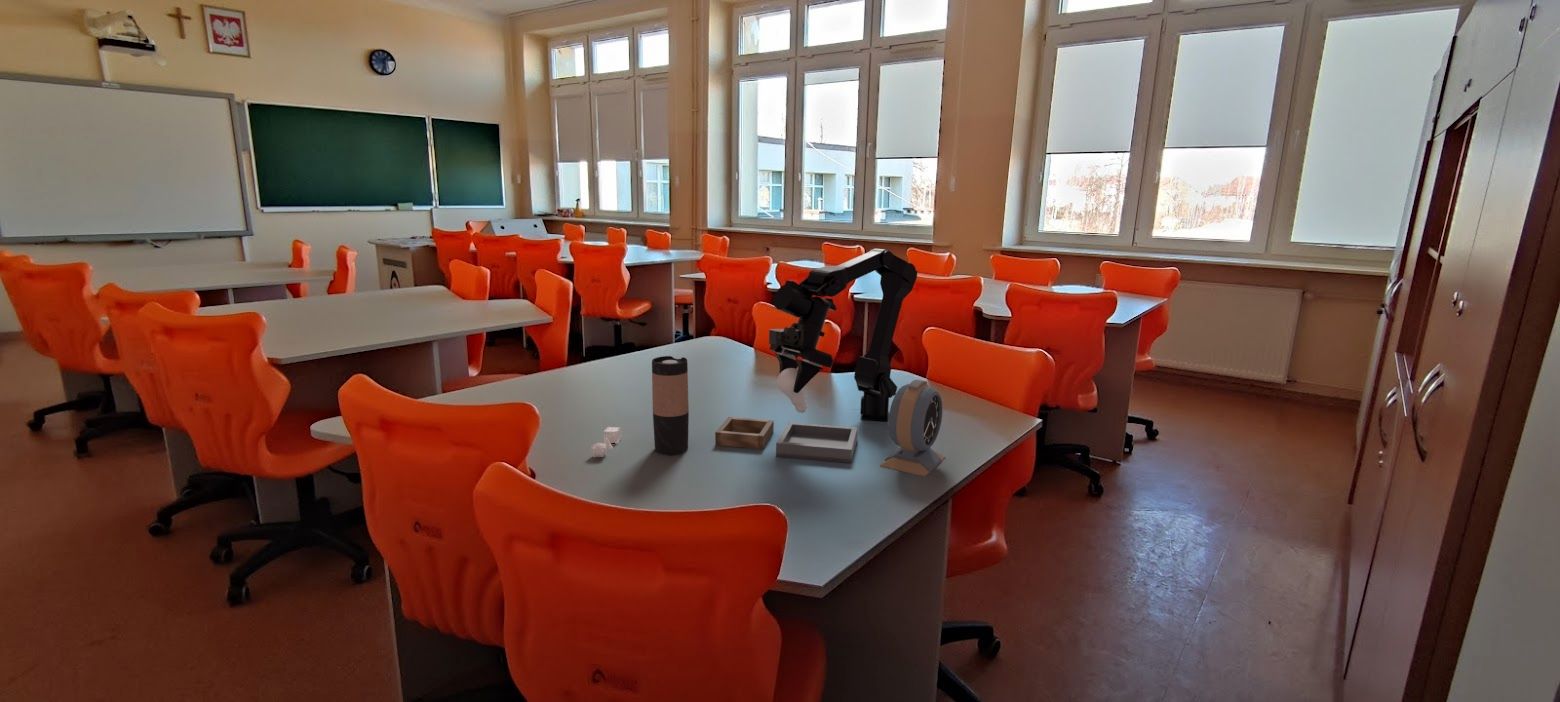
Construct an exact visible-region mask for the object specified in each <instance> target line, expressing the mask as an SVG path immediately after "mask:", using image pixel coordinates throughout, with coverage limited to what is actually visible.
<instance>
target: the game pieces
mask: <svg viewBox="0 0 1560 702" xmlns="http://www.w3.org/2000/svg"><path fill="white" fill-rule="evenodd" d="M620 440H621V441H622V428H621V427H619V426H618V427H617V426H615V427H614V426H607V427H606V429H604V430H603V441H602V442H597V443H595V444H594V443H593V444H592V446H590V453H591V455H592V456H594V457H593V458H595V457H596V458H601V457H603V458H604V455H605V456H606V454H608V452H609V451H608V450H609V449H612V448H613V449H614V447H613V444H611V443H618V442H619V441H620ZM621 441H620V442H621ZM620 442H619V443H620ZM619 443H618V444H619Z"/></svg>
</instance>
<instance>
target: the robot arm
mask: <svg viewBox="0 0 1560 702" xmlns="http://www.w3.org/2000/svg"><path fill="white" fill-rule="evenodd" d="M872 272H875V273H877V274H878V275H880V280H879V284H880V289H881V292H882V298H881V302H880V305H879V309H878V313H877V318H876V321H875V323H874V324H875V325H874V328H873V332H872V336H871V340H870V343H869V347H868V350H867V352H866V353H865V354H864V355H863V356H860V355H859V356H858V357H857V358H856V364H855V368H854V369H853V373H854V376H853V377H854V381H855V382H856V383H855V384H856V387H857V390H858V391H859V392H863V396H861V398H860V415H861V419H862V420H870V421H871V420H872V421H881V422H882V421H883V422H889V413H890V408H889V407H890V405H889V404H890V399H891V398H893V396H894V397H895V395H896V393H897V391H898V386H897V385H896V384H895V382H894V381H893V380H892V378H891V372H892V367H891V362H890V358H889V354H890V350H891V348H892V347H891V346H892V343H893V339H894V335H895V332H896V328H897V324H898V320H899V315H900V312H901V308H902V305H903V301H904V299H906V298H907V296H908V295H909V294H910V293H911V292H912V291H913V289H914V286H915V283H916V280H917V278H918V270H917V269H916V266H915V265H914V264H913V263H911V262H908V261H906V260H904V259H902V258H901V257H899V256H897V255H895V254H894V253H893V252H891V251H890V250H889V249H884V248H873V249H870V250H869V251H868V252H866V253H863V254H862V255H858V256H857V257H853V258H852V259H850V260H847V261H845V262H843V263H841V264H838V265H830V266H821V267H816V268H813V269H811V270H810V271H809V272H808V276H806V277H805V278H804V279H803V280H802V281H800V282H799V283H797V282H796V281H794V280H790V279H786V281H785V284H783V285H781V286H780V287H779V288H778V289H777V291H776V292H775V293H774V296H773V306H774V308H775V309H777V310H778V311H781V312H784V313H785V314H788V315H790V316H792V317H795V318H798V320H797V322H793V323H791V326H789V327H788V326H785V327H784V328H770V329H769V330H768V344H769V345H770V346H769V351H772V352H774V353H773V354H774V356H775V357H776V358H777V360H778V363H779V364H778V365H779V374H780V373H781V372H782V371H783V370H785V369H787V368H795V369H797V370H798V372H797V376H796V381H795V385H794V390H793V391H794V392H795V393H799V392H800V390H801V389H802V388H803V387H804V388H805V387H806V385H807V384H808V383H809V382H810V381H811V380H812V379H813V378H815V376H816V375H818V374H819V373H820V372H822V371H823V370H824V368H828V369H832V366H833V364H834V356H833V355H832V354H831V353H830V354H829V353H828V352H825V351H821V350H819V349H817V346H818V343H819V341H820V337H822V338H824V337H825V334H826V333H825V332H824V331H822V330H823V328H824V325H825V322H826V319H827V316H828V312H829V310H830V311H837V307H836V305H835V303H834V300H833V297H836V296H838V295H840V293H841V292H843V291H845V290H846V289H847V287H848V284H850V283H851V282H854V281H856V280H857V279H859V278H862V277H864V276H867V275H868V274H870V273H872ZM824 297H825V298H824ZM829 297H830V298H829ZM831 297H832V298H831ZM799 358H801V359H799Z"/></svg>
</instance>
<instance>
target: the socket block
mask: <svg viewBox="0 0 1560 702" xmlns="http://www.w3.org/2000/svg"><path fill="white" fill-rule="evenodd" d="M774 424H775V423H774V420H772V419H761V418H760V419H759V418H747V417H746V418H745V417H735V416H728V417H727V418H726V419H725V420H724V421H723V422H722V424H721V425H720V426H719V427H718V428H717V430H716V431H715V433H714V435H715V437H714V438H715V441H714V442H715V443H714V444H715V446H721V447H722V446H723V447H733V448H734V447H735V448H743V449H744V448H746V449H755V450H756V449H757V450H765V448H766V446H767V444H768V442H769V440H770V439H771V437H772V436H773V434H774V428H775V427H774Z"/></svg>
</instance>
